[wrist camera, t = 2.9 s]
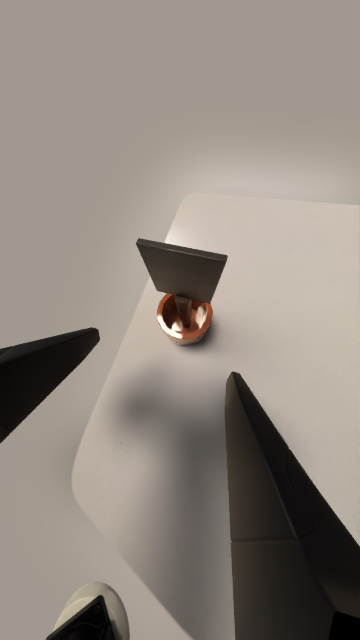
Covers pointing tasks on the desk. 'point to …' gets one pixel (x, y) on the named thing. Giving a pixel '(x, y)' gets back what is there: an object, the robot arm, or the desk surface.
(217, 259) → the spatula
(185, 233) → the desk surface
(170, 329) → the crock
